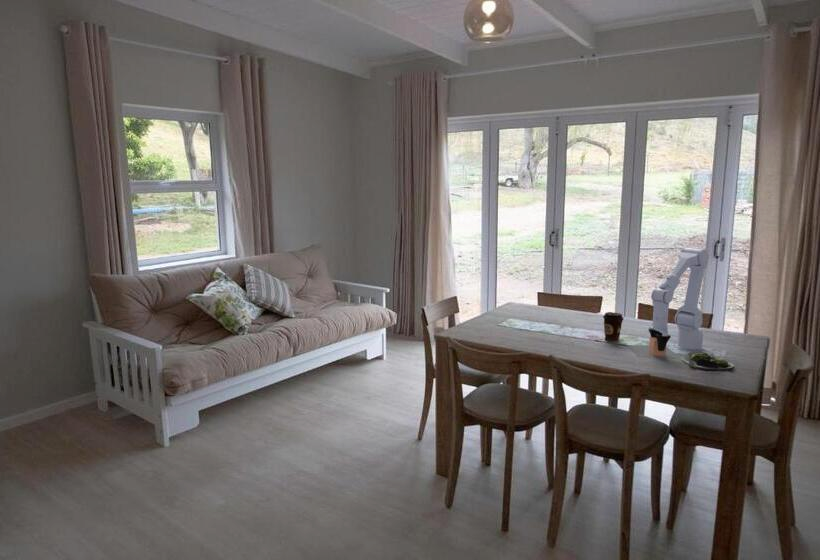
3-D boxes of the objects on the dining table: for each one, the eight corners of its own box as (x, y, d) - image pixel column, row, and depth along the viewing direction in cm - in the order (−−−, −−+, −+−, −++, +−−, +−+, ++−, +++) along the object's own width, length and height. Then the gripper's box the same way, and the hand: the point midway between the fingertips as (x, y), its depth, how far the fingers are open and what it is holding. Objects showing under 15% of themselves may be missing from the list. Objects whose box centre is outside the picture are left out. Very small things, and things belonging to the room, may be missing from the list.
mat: (665, 346, 246) (665, 345, 246) (680, 358, 229) (680, 357, 229) (626, 345, 247) (626, 344, 247) (637, 357, 231) (637, 356, 231)
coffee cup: (608, 344, 250) (610, 316, 248) (598, 339, 258) (599, 312, 256) (625, 342, 252) (627, 314, 250) (614, 337, 260) (615, 310, 258)
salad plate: (669, 357, 232) (670, 346, 231) (710, 356, 233) (711, 346, 232) (695, 373, 213) (696, 361, 212) (740, 372, 214) (741, 360, 213)
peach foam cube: (661, 352, 236) (662, 337, 235) (665, 356, 231) (666, 340, 230) (648, 352, 237) (649, 337, 236) (652, 355, 232) (653, 340, 231)
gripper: (645, 312, 239) (643, 342, 241) (656, 321, 224) (654, 353, 227) (662, 312, 238) (659, 343, 240) (674, 321, 224) (671, 353, 226)
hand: (658, 348), depth 234 cm, fingers open, 7 cm apart
